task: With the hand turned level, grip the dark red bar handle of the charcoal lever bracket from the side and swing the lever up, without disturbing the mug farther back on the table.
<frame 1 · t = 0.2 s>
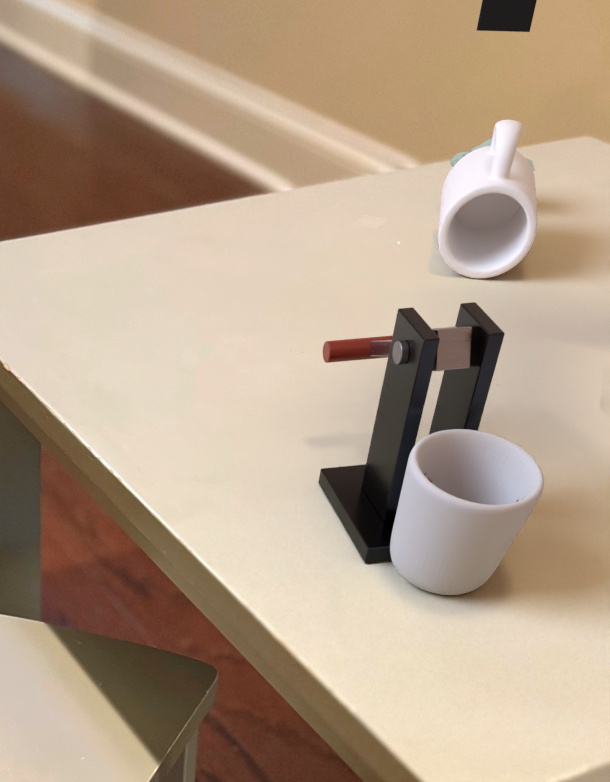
hand: (506, 0, 68), 28 cm above the table, tool pointing down, fingers open, 13 cm apart
cup: (441, 558, 77), on the table, touching bracket
lever: (408, 348, 77), point 10 cm above the table, hinge at -25.0°
mug: (475, 259, 111), on the table
robot head: (480, 212, 119), on the table
bracket: (403, 515, 81), on the table
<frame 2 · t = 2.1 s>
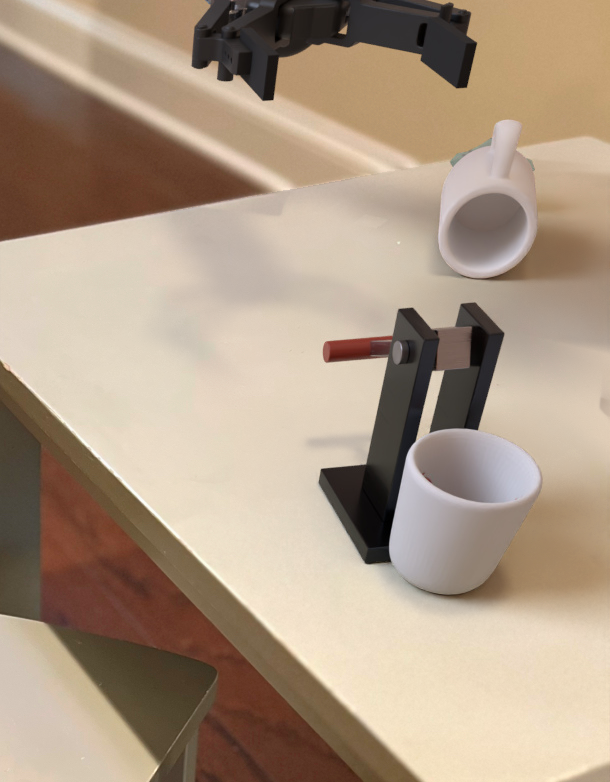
hand: (369, 72, 78), 22 cm above the table, tool horizontal, fingers open, 13 cm apart
nothing on the table moved.
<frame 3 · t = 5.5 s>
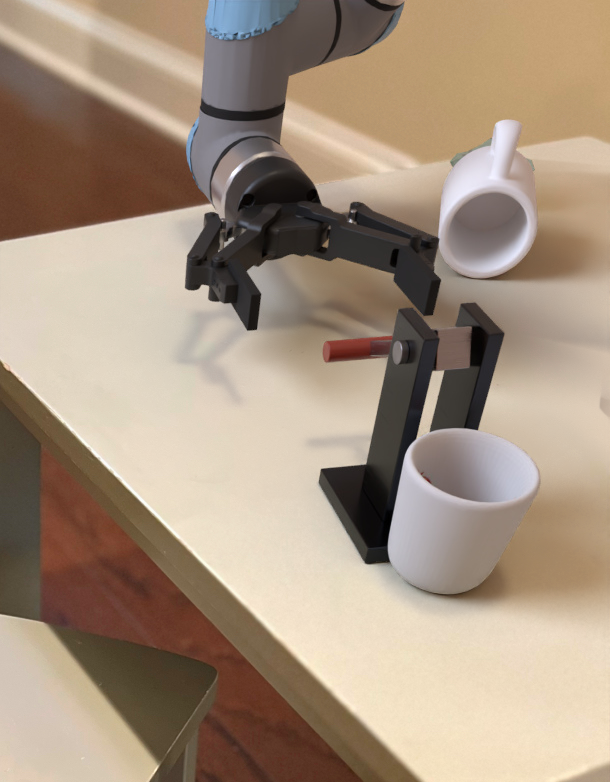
hand: (344, 305, 87), 8 cm above the table, tool horizontal, fingers open, 13 cm apart
nothing on the table moved.
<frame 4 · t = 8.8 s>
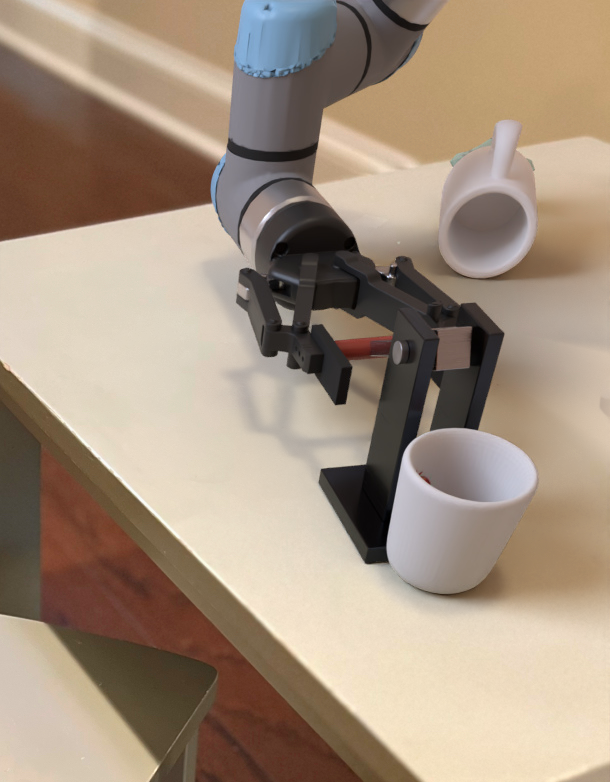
hand: (399, 381, 79), 7 cm above the table, tool horizontal, fingers closed on lever, 7 cm apart
lever: (408, 348, 77), point 10 cm above the table, hinge at -25.0°, touching gripper
everything else where it was.
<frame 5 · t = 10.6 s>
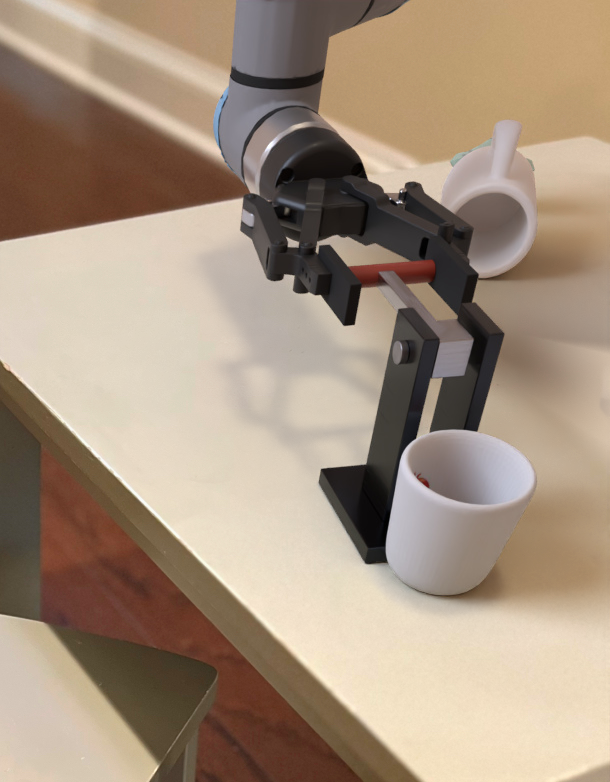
hand: (410, 300, 76), 12 cm above the table, tool horizontal, fingers closed on lever, 7 cm apart
lever: (413, 312, 76), point 12 cm above the table, hinge at 0.3°, touching gripper
everything else where it was.
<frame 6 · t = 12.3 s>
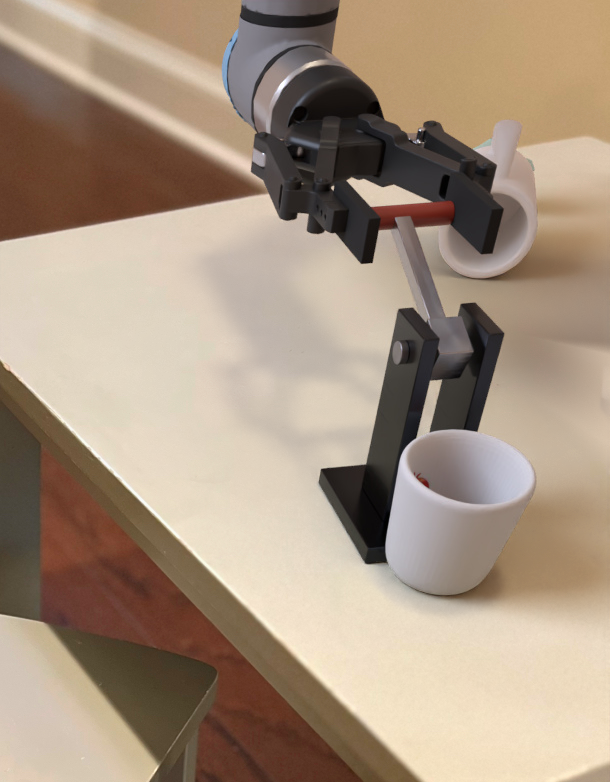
hand: (431, 236, 72), 17 cm above the table, tool horizontal, fingers closed on lever, 7 cm apart
lever: (421, 285, 74), point 14 cm above the table, hinge at 22.2°, touching gripper
everything else where it was.
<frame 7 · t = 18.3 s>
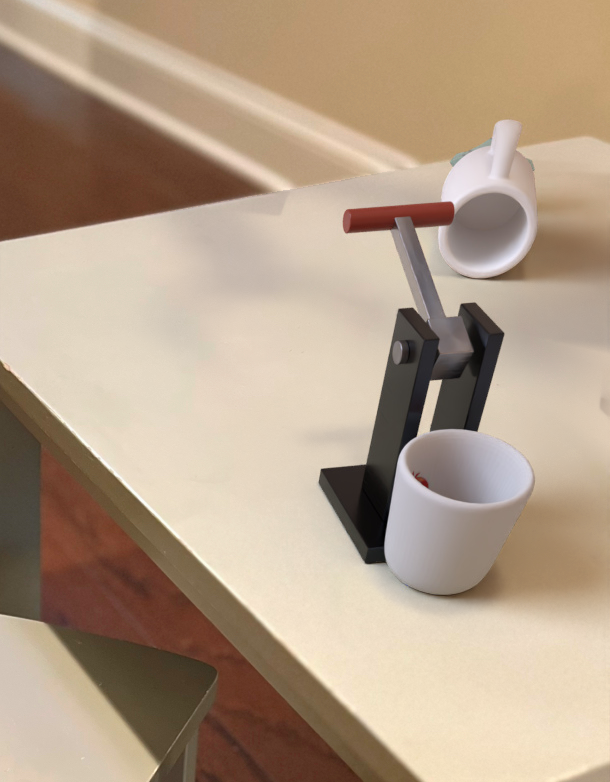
lever: (421, 285, 74), point 14 cm above the table, hinge at 22.0°
everything else where it was.
at the end: lever at +22° (first picture: -25°); lever reached +23° during the clip, +22° at the end; mug moved 0.2 cm from its start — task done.
